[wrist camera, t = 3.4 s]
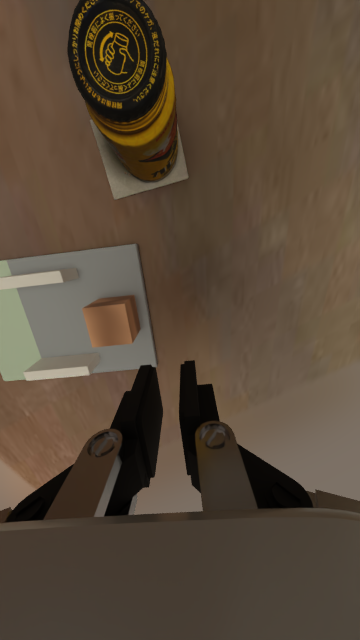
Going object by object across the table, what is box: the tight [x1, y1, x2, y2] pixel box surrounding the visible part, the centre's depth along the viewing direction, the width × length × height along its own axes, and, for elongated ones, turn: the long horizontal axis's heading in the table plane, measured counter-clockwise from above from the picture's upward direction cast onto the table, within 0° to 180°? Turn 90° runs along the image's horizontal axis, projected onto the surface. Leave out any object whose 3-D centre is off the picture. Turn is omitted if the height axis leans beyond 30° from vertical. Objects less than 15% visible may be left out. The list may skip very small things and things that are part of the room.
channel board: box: [0, 244, 158, 381], centre depth 26 cm, size 22×16×4 cm
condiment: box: [68, 0, 189, 200], centre depth 17 cm, size 7×8×12 cm
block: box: [82, 295, 141, 348], centre depth 25 cm, size 4×4×4 cm
